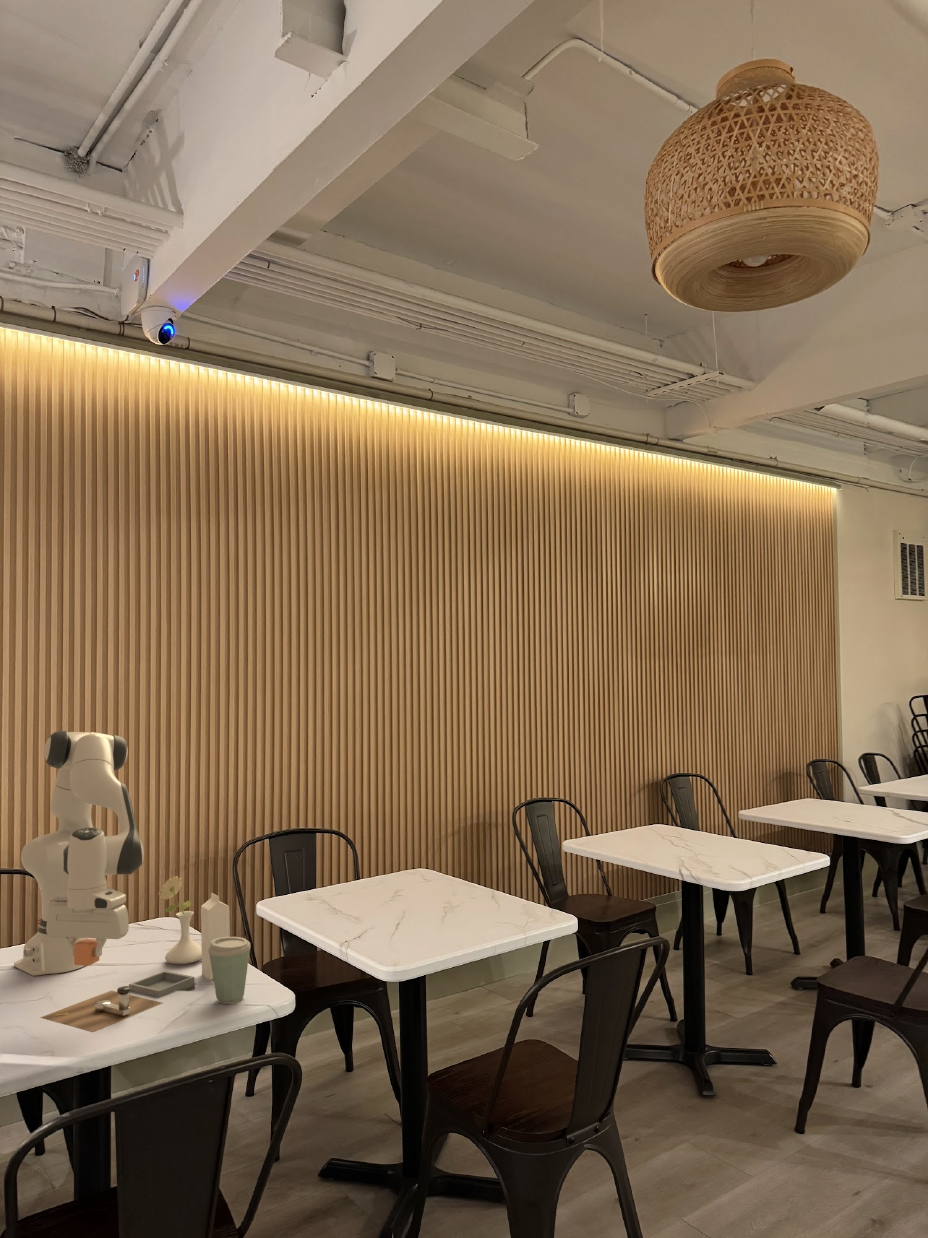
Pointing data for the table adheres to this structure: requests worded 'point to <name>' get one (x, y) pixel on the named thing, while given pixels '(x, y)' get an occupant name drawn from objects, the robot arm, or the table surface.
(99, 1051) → the table surface
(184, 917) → the flower in vase
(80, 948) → the orange block
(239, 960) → the disposable coffee cup
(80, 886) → the robot arm
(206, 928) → the milk
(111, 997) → the plate
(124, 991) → the crank
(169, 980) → the tray
